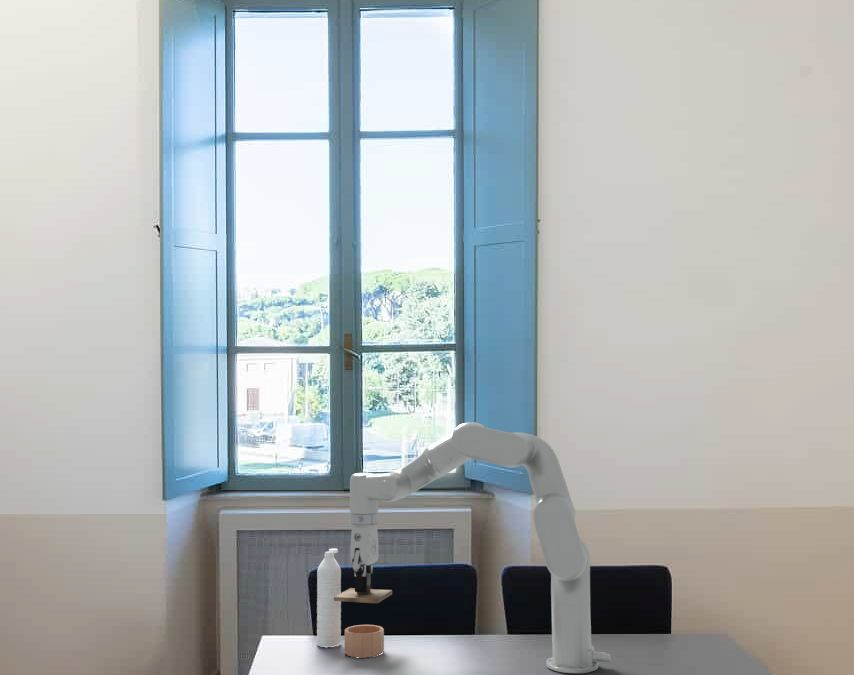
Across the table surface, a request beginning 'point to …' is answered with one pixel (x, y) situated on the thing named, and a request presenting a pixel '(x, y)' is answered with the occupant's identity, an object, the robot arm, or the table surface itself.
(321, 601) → the water bottle
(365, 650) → the bowl
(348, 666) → the table surface
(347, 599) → the lid
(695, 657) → the table surface
